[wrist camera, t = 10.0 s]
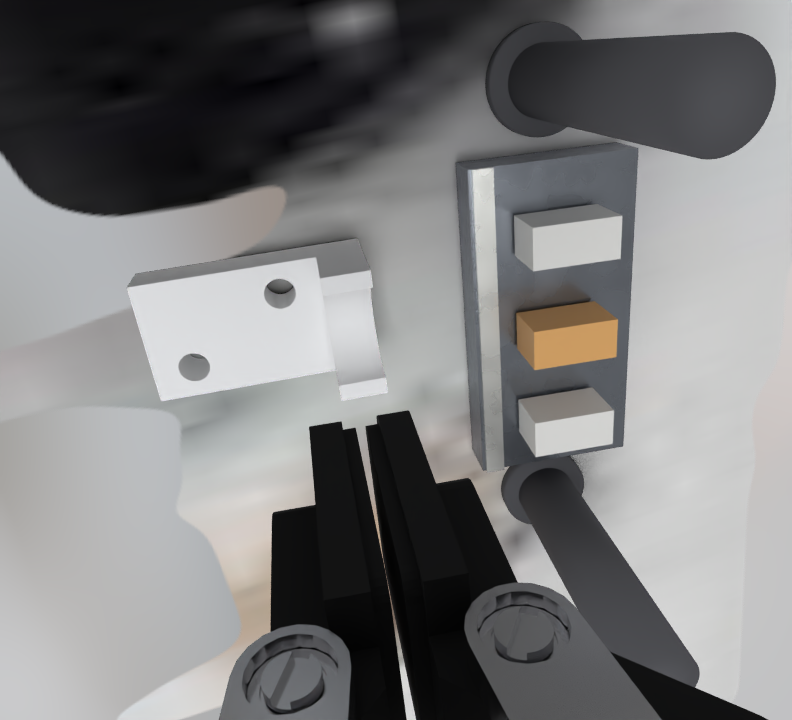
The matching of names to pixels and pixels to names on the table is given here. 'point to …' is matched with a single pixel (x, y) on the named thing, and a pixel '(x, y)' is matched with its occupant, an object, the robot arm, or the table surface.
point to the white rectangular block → (565, 421)
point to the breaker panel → (538, 287)
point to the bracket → (261, 321)
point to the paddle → (567, 237)
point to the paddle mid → (566, 335)
